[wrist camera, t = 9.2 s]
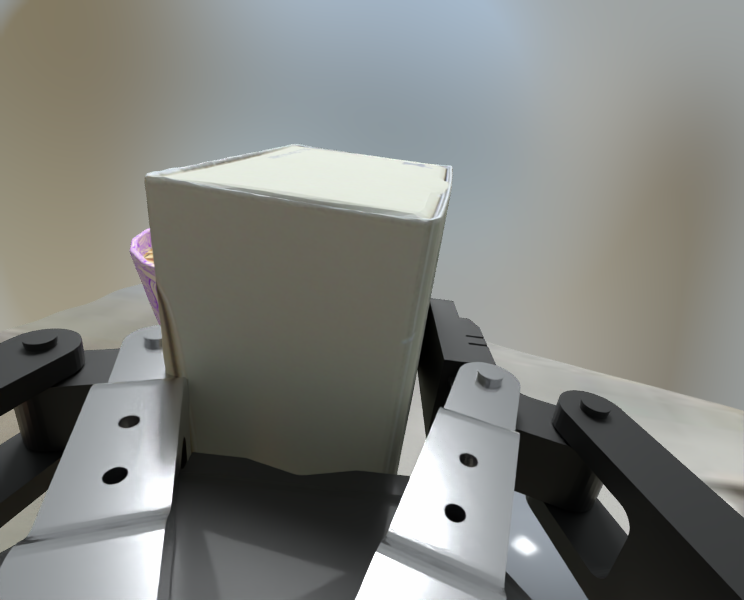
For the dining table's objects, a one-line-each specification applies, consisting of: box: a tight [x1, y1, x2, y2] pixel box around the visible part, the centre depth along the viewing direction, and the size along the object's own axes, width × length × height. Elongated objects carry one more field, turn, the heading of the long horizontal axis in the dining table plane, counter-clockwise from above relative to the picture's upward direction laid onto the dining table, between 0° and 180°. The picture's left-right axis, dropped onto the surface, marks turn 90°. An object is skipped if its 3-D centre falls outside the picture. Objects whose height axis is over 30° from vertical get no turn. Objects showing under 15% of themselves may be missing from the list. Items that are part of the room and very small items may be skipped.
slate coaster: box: [506, 491, 588, 600], centre depth 26 cm, size 11×11×1 cm
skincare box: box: [145, 144, 453, 475], centre depth 11 cm, size 6×4×12 cm
